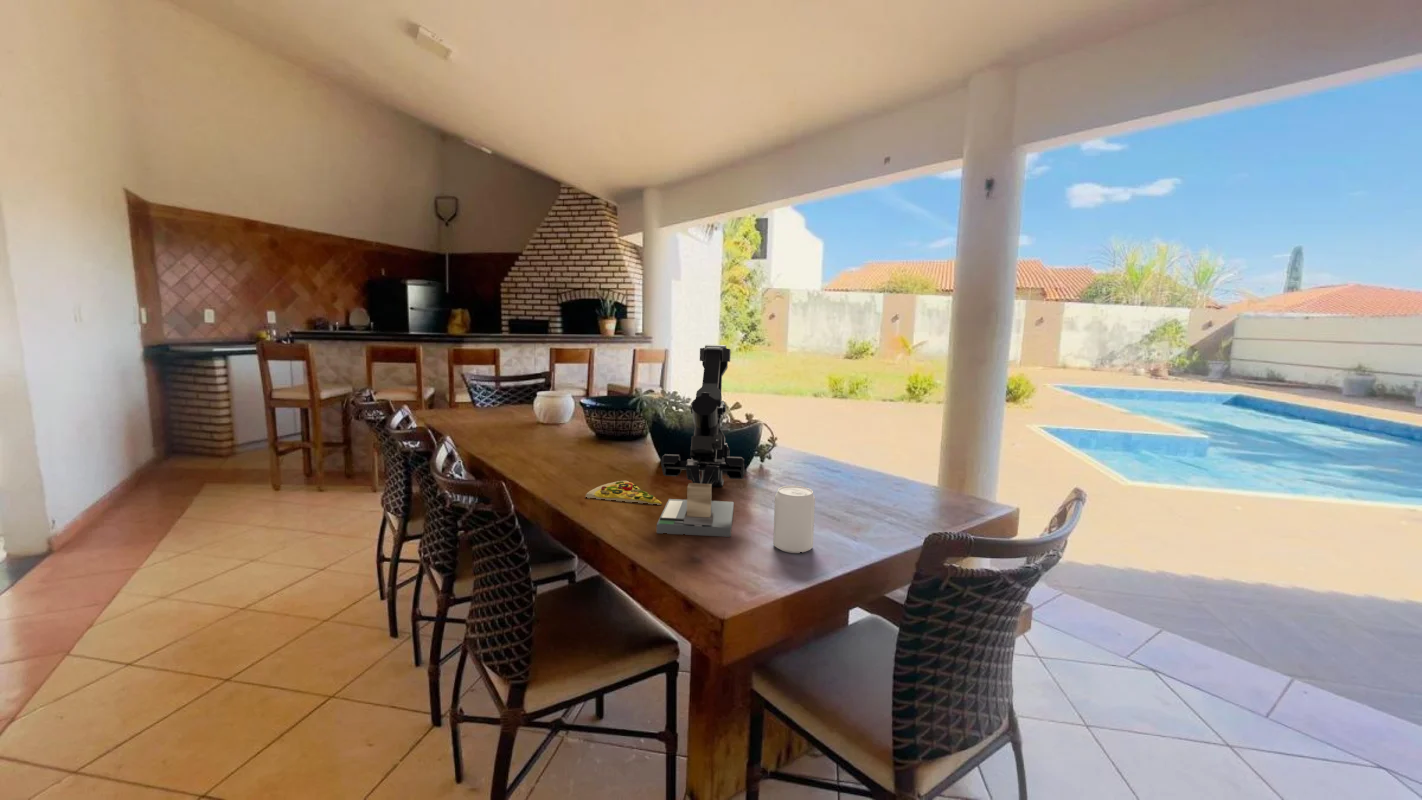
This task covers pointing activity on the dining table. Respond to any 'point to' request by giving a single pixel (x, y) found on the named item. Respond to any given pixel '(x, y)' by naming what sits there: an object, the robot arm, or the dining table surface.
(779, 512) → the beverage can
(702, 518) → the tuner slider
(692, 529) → the board
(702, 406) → the robot arm
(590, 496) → the pizza slice
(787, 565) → the dining table surface
